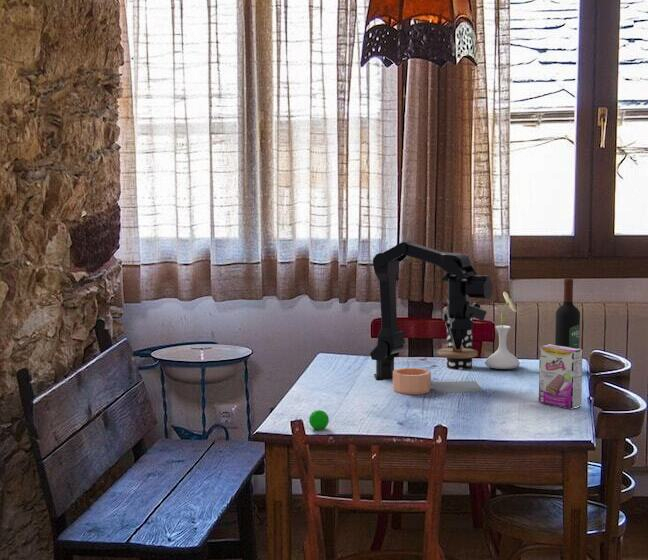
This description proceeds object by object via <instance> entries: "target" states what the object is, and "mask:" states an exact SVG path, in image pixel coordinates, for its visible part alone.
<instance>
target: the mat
mask: <svg viewBox="0 0 648 560" xmlns="http://www.w3.org/2000/svg"><path fill="white" fill-rule="evenodd" d="M431 386H432V387H433V389H434V390H435V391H436V392H435V393H436V394H441V393H447V394H448V393H485V390H484V389H483V388H482V387H481V386H480V385H479V383H478V382H477V381H476V380H474V381H473V380H468V381H467V380H466V381H465V380H464V381H463V380H462V381H461V380H460V381H459V380H457V381H431Z"/></svg>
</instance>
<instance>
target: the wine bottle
mask: <svg viewBox="0 0 648 560" xmlns="http://www.w3.org/2000/svg"><path fill="white" fill-rule="evenodd" d="M573 289H574V279H573V278H564V280H563V303H562V305H560V306H559V307H558V308H557V310H556V311H555V331H554V332H555V336H554V338H555V339H554V345H557V346H563V347H569V348H576V349H580V340H581V339H580V336H581V335H580V334H581V333H580V331H581V312H580V310H579V309H578V308H577V306H575V305H574V301H573V300H574V299H573V297H574V295H573V294H574V290H573Z"/></svg>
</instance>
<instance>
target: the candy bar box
mask: <svg viewBox="0 0 648 560" xmlns="http://www.w3.org/2000/svg"><path fill="white" fill-rule="evenodd" d="M538 369H539V373H538V375H539V376H538V377H539V378H538V381H539V382H538V388H539V389H538V403H540V404H545V405H548V404H549V405H548V406H553V405H555V406H554V407H557V406H561V407H560V408H562V407H566V408H565V409H567V408H574V407H577V406H580V405H581V406H582V392H583V391H582V387H583V386H582V383H583V382H582V381H583V380H582V379H583V349H582V348H579V349H576V348H569V347H563V346H557V345H555V344H551V343H549V344H543V345H541V346H539V368H538Z"/></svg>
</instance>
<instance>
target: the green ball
mask: <svg viewBox="0 0 648 560" xmlns="http://www.w3.org/2000/svg"><path fill="white" fill-rule="evenodd" d="M329 419H330V418H329V416H328V414H327V413H326V412H325V411H323V410H321V409H318V410H314V411H313V412H311V413H310V415H309V419H308V420H309V425H310V426H311V428H312V429H315V430H316V429H318V430H317V431H321V430H320V429H322V430H324V429H325V428H326V427H327V426H328V424H329V423H330V420H329Z"/></svg>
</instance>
